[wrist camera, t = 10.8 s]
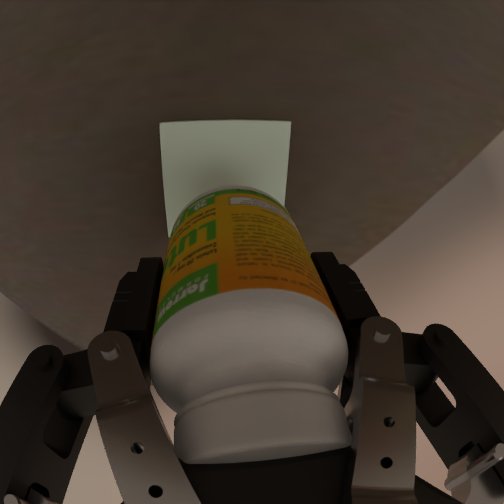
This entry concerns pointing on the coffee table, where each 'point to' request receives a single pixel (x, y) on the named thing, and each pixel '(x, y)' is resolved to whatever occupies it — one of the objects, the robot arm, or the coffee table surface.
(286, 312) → the supplement bottle
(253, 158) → the mat
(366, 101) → the coffee table surface
